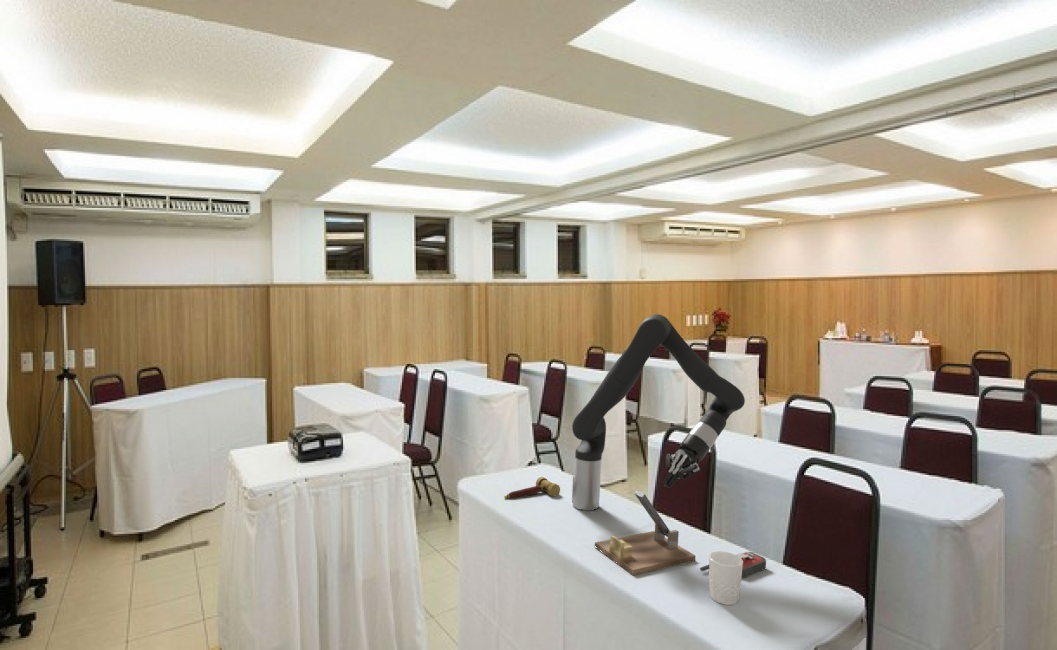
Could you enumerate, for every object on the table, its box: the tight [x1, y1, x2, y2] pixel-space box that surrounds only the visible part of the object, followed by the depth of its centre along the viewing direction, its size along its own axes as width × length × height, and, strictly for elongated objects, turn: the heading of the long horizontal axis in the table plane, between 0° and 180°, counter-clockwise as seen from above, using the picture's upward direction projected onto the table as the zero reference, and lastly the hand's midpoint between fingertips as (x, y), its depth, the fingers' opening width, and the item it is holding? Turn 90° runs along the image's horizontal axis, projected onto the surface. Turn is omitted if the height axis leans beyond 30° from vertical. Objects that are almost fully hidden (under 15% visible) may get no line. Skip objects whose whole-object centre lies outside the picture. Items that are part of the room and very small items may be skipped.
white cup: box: [708, 551, 743, 606], centre depth 139 cm, size 8×8×10 cm
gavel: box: [504, 476, 561, 500], centre depth 207 cm, size 21×5×10 cm
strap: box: [633, 489, 671, 538], centre depth 163 cm, size 4×18×2 cm
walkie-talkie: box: [699, 551, 767, 579], centre depth 154 cm, size 9×4×20 cm
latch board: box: [594, 523, 696, 576], centre depth 162 cm, size 18×22×6 cm
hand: (665, 485), depth 164 cm, fingers closed
